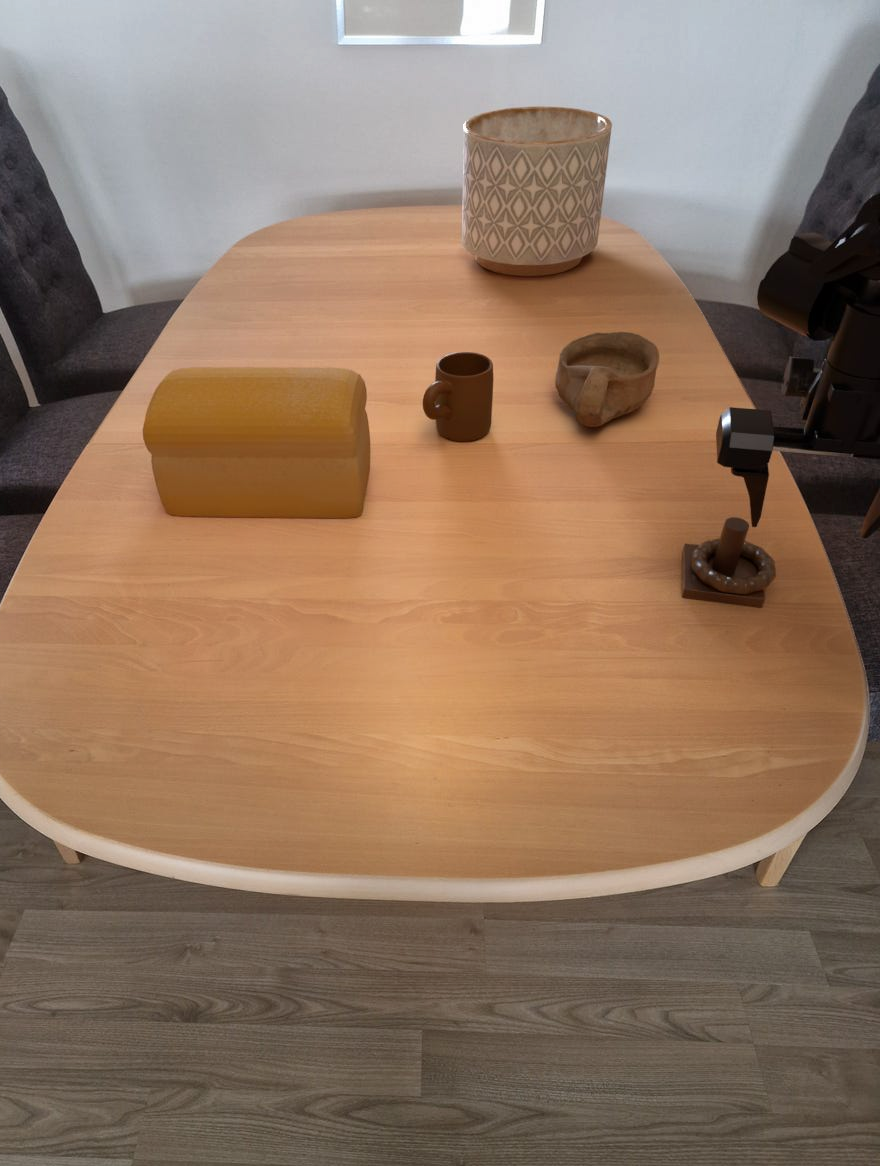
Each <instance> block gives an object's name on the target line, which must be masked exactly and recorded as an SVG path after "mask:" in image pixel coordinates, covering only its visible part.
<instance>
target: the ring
mask: <svg viewBox="0 0 880 1166" xmlns="http://www.w3.org/2000/svg"><path fill="white" fill-rule="evenodd" d="M719 540H720V537H719V538H715V539H709V540H705V541H704V542H702V543H701V544H699V545H700V546H699V547H698V548H697V549H695V550H694V551H693V553H692V570H693V572H694V573H695V574H696V575H697V576H698V577H699V578H700V580H701V581H702V582H703V583H705V584H707V585H709V586H711V587H713V588H715V589H717V590H719V591H721V592H727V593H735V594H749V593H753V592H757V591H762V590H764V591H765V589H766V588H767V587H768V586H769V585H770V584H771V583H773V581H774V580H775V579H776V577H777V572H776V562H775V560H774V558H773V557H772V556H771V555H770V554H769V553H768V552H766V550H765V549H764V548H763V547H761V546H759V545H758V544H757V545H756V544H754V543H752V542H750V541H747V540H745V542H744V545H743V548H742V552H741V556H743V557H746V558H748V559H750V560H752V561H753V562H754V563H755V564H756V565H757V566H758V567H759V573H758V574H757V575H756V576H753V577H749V578H744V579H741V578H733V577H727V576H725V575H722V574H720V573H718V572H716V571H714V570H713V569H712V568H711V567H710V566H709V564H708V560H707V559H708V558H709V557H710V556H711V555H714V554H716V550H717V547H718V543H719Z"/></svg>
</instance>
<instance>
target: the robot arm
mask: <svg viewBox="0 0 880 1166" xmlns="http://www.w3.org/2000/svg"><path fill="white" fill-rule="evenodd" d="M756 294H757V296H756V300H757V302H756V303H757V306H758V308H759V309H758V310H759V311H760V312H761V313H762V314H763V315H764V316H765V317H766V316H767V317H768V318H770V319H772V320H773V321H776V322H778V323H779V324H781V325H783V326H786V327H787V328H789V329H790V330H793V331H795V332H796V333H798V334H799V335H800V334H801V335H802V336H804V337H806V338H808V339H810V340H812V341H817V342H822V341H826V340H829V339H831V338H832V339H831V343H830V347H829V350H828V352H827V356H826V357H825V358H824V359H823V360H824V361H823V362H822V364H821V367H820V368H815V364H816V361H815V359H813V358H811V357H802V356H801V357H800V356H788V357H789V359H788V362H787V364H786V367H785V371H784V374H783V378H782V383H781V387H780V392H781V394H782V395H783V396H785V397H794V398H795V397H796V398H800V403H799V405H800V407H801V409H800V413H799V414H800V419H801V421H806V422H805V426H804V427H803V428H798V427H787V426H786V427H785V426H774V423H773V422H774V421H773V414H772V410H770V409H757V408H745V407H733V406H732V407H731V406H729V407H728V408H727V409H726V410H724V411H723V412H722V413H721V414H720V415H719V420H718V425H717V427H716V432H715V444H716V463H717V464H718V465H720V466H721V467H723V468H729V469H730V473H731V475H733V476H736V477H740V478H743V480H744V485H745V487H746V490H747V494H748V497H749V509H750V511H749V512H750V519H751V520H750V523H751V528H757V527H758V524H759V523H760V520H761V517H762V513H763V507H764V502H765V497H766V493H767V487H768V483H769V476H770V471H769V463H770V460H771V457H772V454H773V451H774V452H786V453H797V454H806V455H807V454H809V455H819V456H831V457H844V458H855V459H857V458H858V459H866V460H867V459H868V460H879V461H880V190H877V191H875V192H873V193H872V194H871V195H870V197H869V198H868V199H867V200H866V201H865V202H864V203H863V205H862V206H861V208H860V209H859V210H858V213H857V214H856V216H855V219H854V221H853V222H852V223H851V224H850V225H849V226H848V227H847V228H846V229H845V230H844V231H843V232H842V233H841V234H840V235H839V236H837V238H836V239H835V240H834V241H832V242H831V241H830V240H828V239H827V238H826V237H824V236H823V235H821V234H819V233H816V232H813V231H812V232H807V233H801V234H797V235H793V236H792V237H791V239H790V242H789V247H788V250H787V251H785V252H784V253H783V254H781V255H779V257H778V258H777V259H776V260H775V261H774V262H773V263H772V264H771V265H770V267H769V269H768V270H767V272H766V273H765V276H764V277H763V278H762V279H761V280H760V282H759V285H758V288H757V293H756ZM879 530H880V488H878V491H877V493H876V495H875V497H874V498H873V501H872V502H871V505H870V507H869V509H868V510H867V513H866V515H865V517H864V520H863V523H862V526H861V529H860V536H861V539H864V540H865V539H866V540H867V539H869V538H870V537H871V536H872V535H873V534H875V533H876V532H877V531H879Z"/></svg>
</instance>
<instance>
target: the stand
mask: <svg viewBox="0 0 880 1166" xmlns="http://www.w3.org/2000/svg"><path fill="white" fill-rule="evenodd" d="M749 529H750V523H749V522H748V521H747V520H745V519H744V518H741V517H734V516H733V517H729V518H726V519H725V520H724V523H723V527H722V530H721V533H720V537H719V538H720V540H719V543H718V547H717V550H716V554H714V555H711V556H710V557H709V558H708V559H707V560H708V564H709V566H710V567H711V568H712V569H713V570H714V571H716V572H718V573H720V574H722V575H725V576H727V577H733V578H741V579H744V578H749V577H753V576H756V575H757V574H758V573H759V567H758V566H757V565H756V564H755V563H754V562H753V561H752V560H750V559H748V558H746V557H743V556H741V552H742V548H743V545H744V542H745V541H746V539H747V535H748V532H749ZM700 545H701V544H692V543H684V544H683V548H682V552H681V554H682V555H681V558H682V559H681V565H682V566H681V597H682V598H683V599H691V600H699V601H705V602H706V601H707V602H714V603H720V604H721V603H723V604H730V605H737V606H745V607H746V606H747V607H753V608H760V609H762V608H763V607H764V603H765V600H766V594H765V589H764V590H762V591H757V592H753V593H749V594H735V593H727V592H721V591H719V590H717V589H715V588H713V587H711V586H709V585H707V584H705V583H703V582H702V581H701V580H700V578H699V577H698V576H697V575H696V574H695V573H694V572H693V570H692V553H693V551H694V550H695V549H697V548H698V547H699V546H700Z"/></svg>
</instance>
